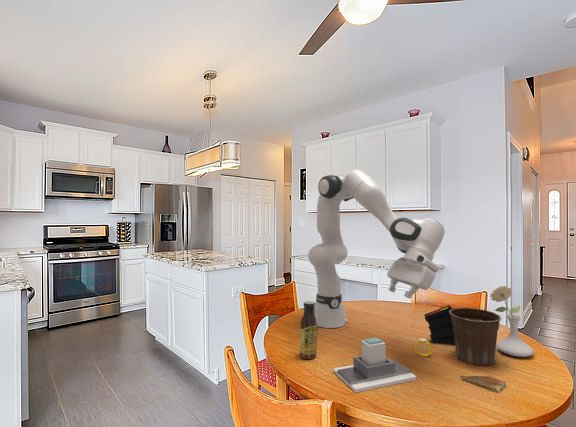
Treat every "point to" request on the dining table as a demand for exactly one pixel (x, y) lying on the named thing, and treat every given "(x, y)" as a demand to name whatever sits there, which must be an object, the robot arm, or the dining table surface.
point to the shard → (485, 382)
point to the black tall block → (441, 326)
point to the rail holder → (373, 374)
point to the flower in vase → (511, 326)
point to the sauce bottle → (308, 332)
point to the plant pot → (475, 335)
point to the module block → (373, 351)
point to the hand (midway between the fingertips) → (398, 294)
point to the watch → (423, 342)
